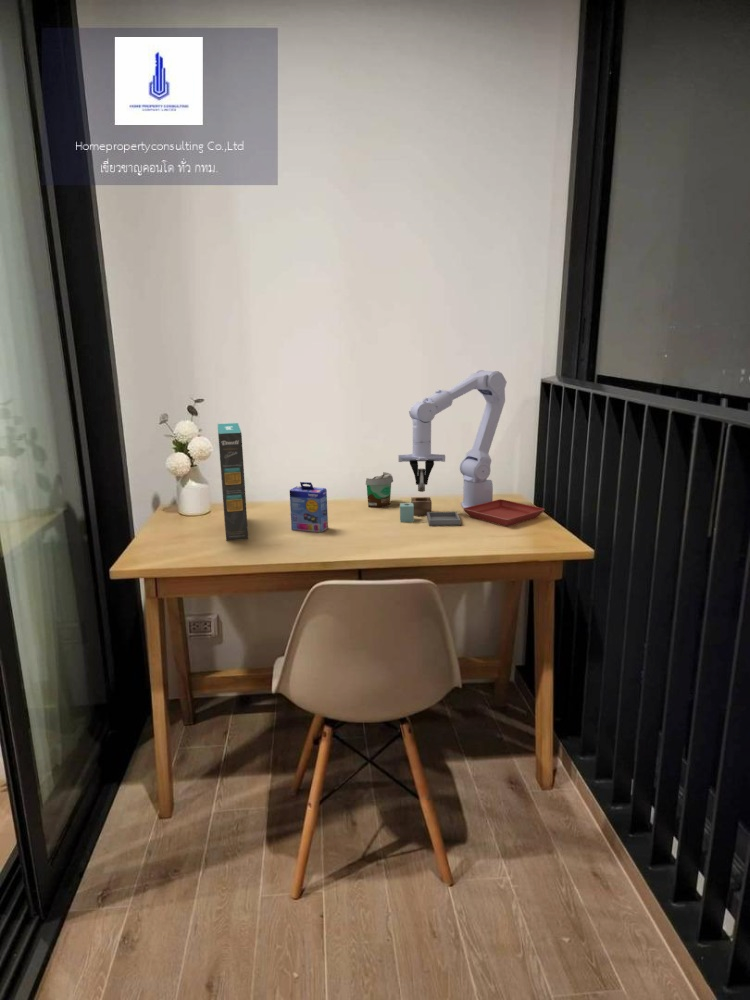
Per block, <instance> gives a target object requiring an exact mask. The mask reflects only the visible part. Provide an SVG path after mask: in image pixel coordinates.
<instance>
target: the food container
mask: <svg viewBox="0 0 750 1000" xmlns="http://www.w3.org/2000/svg"><path fill="white" fill-rule="evenodd" d="M393 482H394V478H393V475H392V473H389V472H385V471H384V472H383V471H382V474H381V475H377V476H374V477H373V478H369V477H367V478H366V480H365V485H366V494H367V507H368V508H376V509H377V508H379V509H380V508H385V507H388V506H391V495H392V493H391V492H392V483H393Z"/></svg>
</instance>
